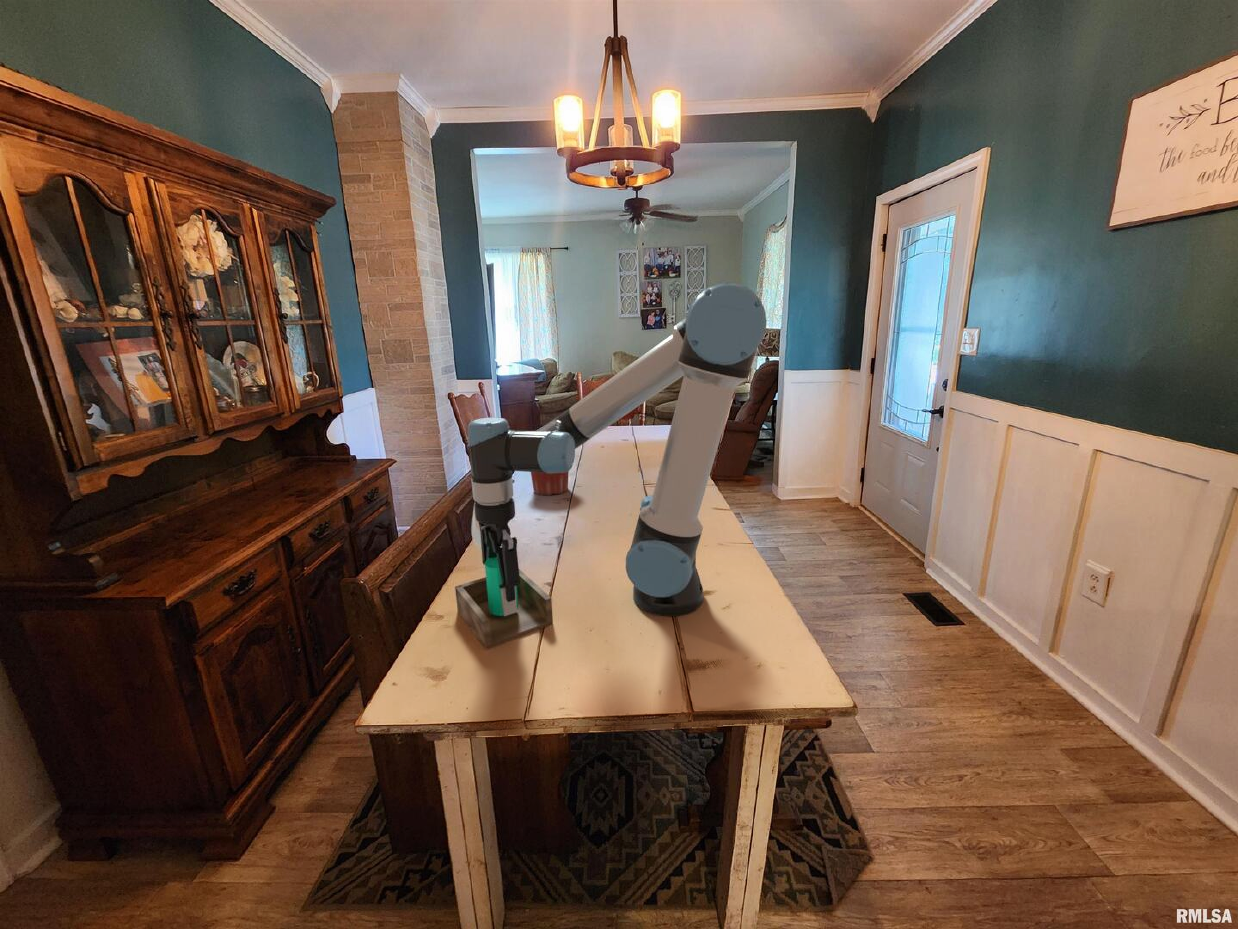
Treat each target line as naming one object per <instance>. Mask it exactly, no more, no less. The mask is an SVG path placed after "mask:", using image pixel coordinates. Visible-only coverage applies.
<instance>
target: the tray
mask: <svg viewBox="0 0 1238 929" xmlns="http://www.w3.org/2000/svg"><path fill="white" fill-rule="evenodd" d="M519 576H520V585H517V594H518V609H517V612H516V613H513V614H510V615H507V616H504V615H503V616H498V615H493V614H492V613H490V612H489V603H488V593H487V582H486V576H485V577H482V578H479V579H475V580H472V581H469V582H465V583H463V584H458V585H456V586H454V591H455V597H456V598H455V599H456V607H457V608H456V609H457V612H458V614H459V616H460V617H462V619H463V621H465V623H466V624H467V626H468V627H469V629H470V630H471V631H472V633H473V634H474V636H475V637H476V638H477V639H478V641H479V642H480V643H481V645H482V647H484V649H485V650H488V649H490V648H493V647H495V646H497V645H501V644H503V643H506V642H508V641H512V640H514V639H516V638H519V637H522V636H525V635H527V634H530V633H533V632H535V631H537V630H541V629H543V628H545V627H548V626H550V625H553V623H554V622H553V621H554V618H553V604H552V603H553V602H552V597H551V596H550V595H549V594H548V593H546V592H545V591H544V590H543V589H542V587H540V586H539V585H538V584H536V583H535V582H534V581H533V580H532V579H531V578H530V577H528V575H526V574H525V572H523V571H522V570H521V569H520V568H519Z"/></svg>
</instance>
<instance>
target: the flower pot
mask: <svg viewBox="0 0 1238 929" xmlns="http://www.w3.org/2000/svg"><path fill="white" fill-rule="evenodd" d="M569 473H570V470H569V471H568V472H565V473H553V474H550V473H542V472H530V476H531V483H532V488H533V492H534V493H535V494H537V495H542V496H552V495H553V494H555V495H559V494H564V493H565V492H566V491H568V489H569Z"/></svg>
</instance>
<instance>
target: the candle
mask: <svg viewBox="0 0 1238 929" xmlns="http://www.w3.org/2000/svg"><path fill="white" fill-rule="evenodd" d="M484 570H485V571H484V572H485V577H486V582H487V593H488V603H489V612H490V613H492V614H493V615H498V616H503V609H502V597H501V589H500V588H499V585H502V579H501V574H500V569H499V564H498V559H497V557H494V558H488V559H487V560H486V562H485V565H484ZM515 590H516V602H517V609H518V594H517V586H515Z"/></svg>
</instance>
